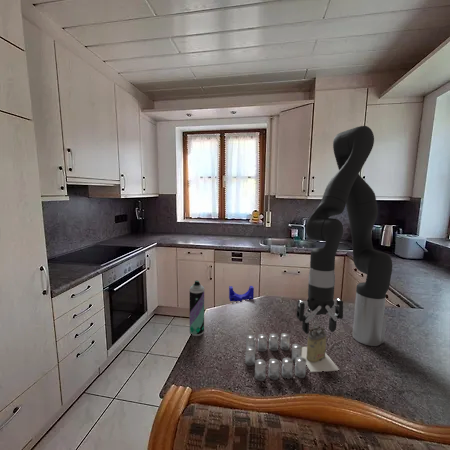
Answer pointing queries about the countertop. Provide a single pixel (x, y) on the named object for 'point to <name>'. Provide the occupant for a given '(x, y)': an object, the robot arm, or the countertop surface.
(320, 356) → the cream metal oval canister
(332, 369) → the tile
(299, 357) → the spacers
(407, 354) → the countertop surface
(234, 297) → the cable clip
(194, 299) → the spray can
